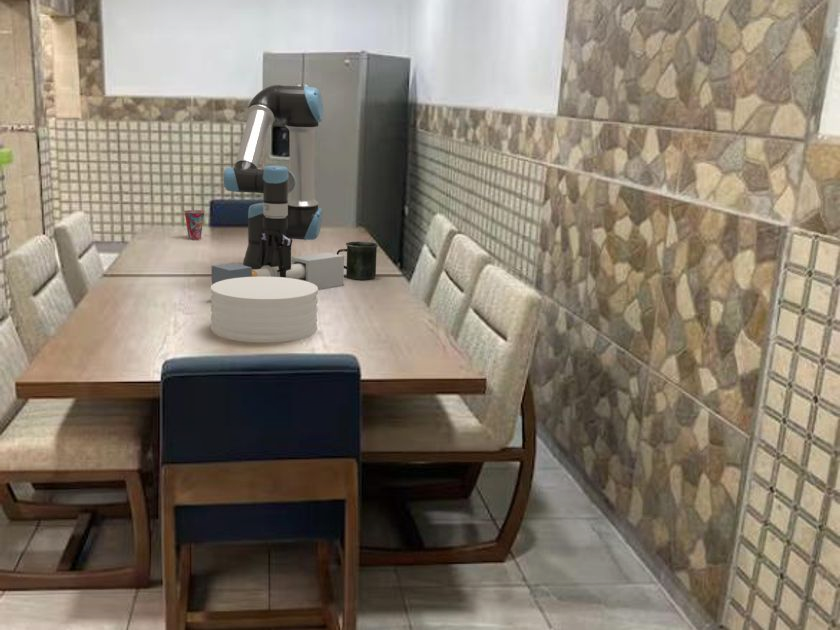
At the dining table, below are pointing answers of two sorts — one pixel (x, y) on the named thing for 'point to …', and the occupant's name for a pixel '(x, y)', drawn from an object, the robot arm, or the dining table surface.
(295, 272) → the tube
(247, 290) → the plate stack
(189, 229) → the cup
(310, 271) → the sleeve
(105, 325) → the dining table surface
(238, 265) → the socket
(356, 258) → the mug
